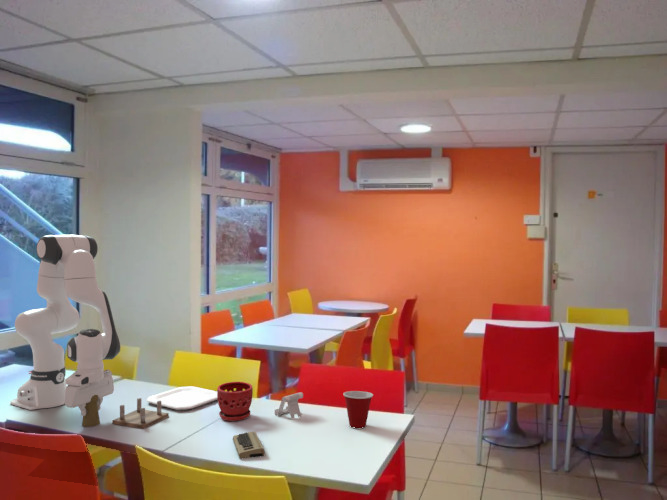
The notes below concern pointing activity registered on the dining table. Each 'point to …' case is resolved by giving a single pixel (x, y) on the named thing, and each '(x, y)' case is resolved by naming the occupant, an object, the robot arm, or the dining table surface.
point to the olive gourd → (91, 413)
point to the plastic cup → (357, 407)
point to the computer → (248, 445)
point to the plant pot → (234, 400)
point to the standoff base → (136, 419)
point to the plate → (184, 398)
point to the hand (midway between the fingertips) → (90, 412)
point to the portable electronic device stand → (290, 405)
